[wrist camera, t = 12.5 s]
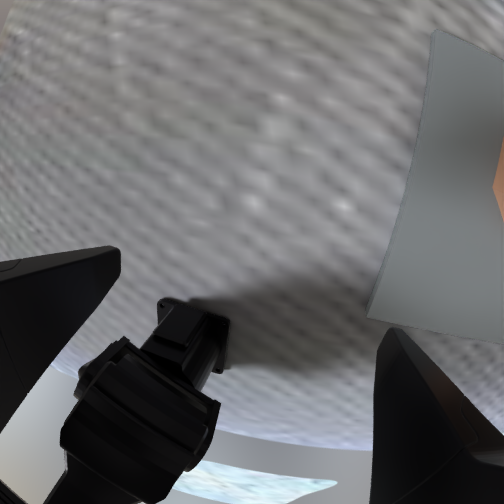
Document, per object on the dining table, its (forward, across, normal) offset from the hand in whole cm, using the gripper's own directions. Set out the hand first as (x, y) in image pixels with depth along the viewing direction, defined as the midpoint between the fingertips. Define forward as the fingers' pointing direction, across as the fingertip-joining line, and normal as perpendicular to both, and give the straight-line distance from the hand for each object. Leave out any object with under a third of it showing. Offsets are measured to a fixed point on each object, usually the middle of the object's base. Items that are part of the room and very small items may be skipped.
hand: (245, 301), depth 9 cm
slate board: (+11, -15, -4) cm, 19 cm away
